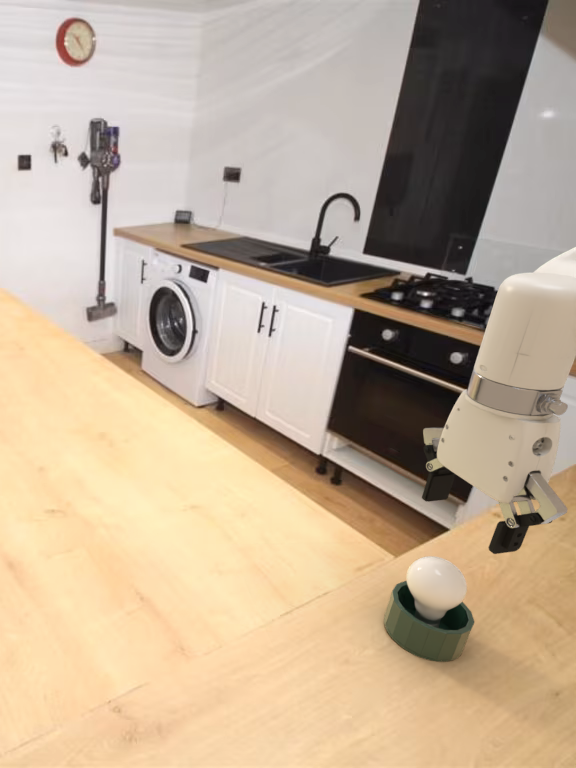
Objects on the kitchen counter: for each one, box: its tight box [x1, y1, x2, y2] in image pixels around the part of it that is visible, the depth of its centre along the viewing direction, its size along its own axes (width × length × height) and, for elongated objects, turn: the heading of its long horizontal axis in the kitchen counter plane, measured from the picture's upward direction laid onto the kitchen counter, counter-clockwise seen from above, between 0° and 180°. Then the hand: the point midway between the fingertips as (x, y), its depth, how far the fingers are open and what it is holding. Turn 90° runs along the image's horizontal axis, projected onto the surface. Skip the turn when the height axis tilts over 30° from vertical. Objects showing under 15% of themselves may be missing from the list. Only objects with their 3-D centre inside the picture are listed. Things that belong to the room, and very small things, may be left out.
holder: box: [383, 580, 475, 663], centre depth 70 cm, size 9×9×5 cm
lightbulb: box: [405, 555, 468, 628], centre depth 69 cm, size 6×6×11 cm
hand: (465, 523), depth 64 cm, fingers open, 9 cm apart
